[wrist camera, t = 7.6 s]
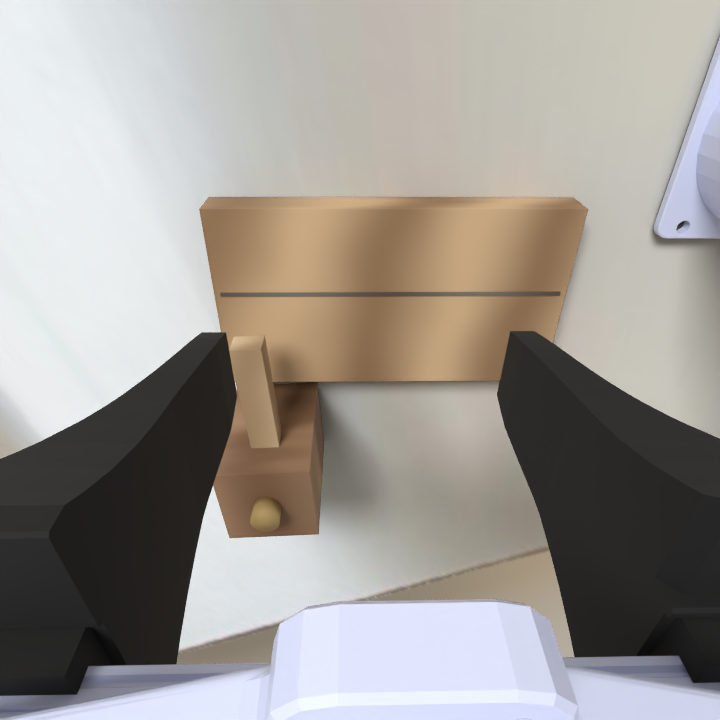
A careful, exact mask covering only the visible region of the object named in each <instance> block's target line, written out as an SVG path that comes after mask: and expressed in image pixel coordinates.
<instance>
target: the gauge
mask: <svg viewBox="0 0 720 720" xmlns="http://www.w3.org/2000/svg"><path fill="white" fill-rule="evenodd" d="M229 352H230V358H231V363H232V367H233V372H234V376H235V380H236V385H237V391H236V393H237V400H236V406H235V412H234V418H233V423H232V428H231V432H230V435H229V438H228V441H227V444H226V447H225V451H224V454H223V457H222V460H221V463H220V466H219V469H218V472H217V475H216V478H215V481H214V484H213V486H214V489H215V492H216V496H217V499H218V502H219V505H220V509H221V512H222V515H223V518H224V521H225V525H226V528H227V531H228V534H229V538H243V537H266V536H289V535H312V534H319V519H320V502H321V485H322V467H323V450H324V436H323V427H322V419H321V410H320V401H319V393H318V384H317V382H315V383H293V384H273V379H272V373H271V368H270V362H269V356H268V351H267V345H266V340H265V335H260V336H239V337H234V338H233V340H232V343H231V346H230V349H229Z"/></svg>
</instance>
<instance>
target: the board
mask: <svg viewBox="0 0 720 720" xmlns="http://www.w3.org/2000/svg"><path fill="white" fill-rule="evenodd" d="M199 210H200V215H201V221H202V227H203V232H204V238H205V244H206V249H207V255H208V261H209V266H210V272H211V278H212V283H213V289H214V294H215V300H216V306H217V311H218V317H219V323H220V328H221V332H226V335H227V340H228V346H229V349H230V346H231V343H232V340H233V338H234V337H239V336H260V335H265V340H266V345H267V351H268V356H269V362H270V368H271V373H272V379H273V382H341V381H496V380H500V378H501V373H502V368H503V363H504V359H505V354H506V349H507V344H508V339H509V335H510V331H535V332H537V333H538V334H540V335H542V336H543V337H545V338H546V339H548V340H549V341H550V342H552V343H553V339H554V335H555V332H556V328H557V324H558V320H559V317H560V313H561V309H562V305H563V302H564V298H565V294H566V291H567V287H568V283H569V279H570V276H571V272H572V268H573V264H574V261H575V257H576V253H577V250H578V246H579V242H580V238H581V235H582V231H583V227H584V223H585V220H586V216H587V212H588V209H587V208H586V207H585V206H583V205H582V204H581V203H580V202H578V201H577V200H576V199H575V198H547V197H209V198H208V199H207V200H206V201H205V203H204V204H203V205H202V206H201V208H200V209H199ZM231 364H232V363H231ZM232 370H233V367H232ZM233 375H234V372H233ZM234 381H235V382H236V380H235V376H234Z"/></svg>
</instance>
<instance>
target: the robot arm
mask: <svg viewBox="0 0 720 720" xmlns="http://www.w3.org/2000/svg"><path fill="white" fill-rule="evenodd" d="M682 221H685V222H684V225H683V227H681V228H680V229H678V230H676V229H677V226H678V224H679V223H681V222H682ZM654 231H655V233H656V234H657V235H659V236H660V237H661V238H666V239H720V38H719V41H718V44H717V47H716V49H715V52H714V55H713V58H712V61H711V64H710V67H709V69H708V72H707V75H706V78H705V81H704V84H703V87H702V89H701V92H700V95H699V98H698V101H697V104H696V107H695V109H694V112H693V115H692V118H691V121H690V124H689V127H688V129H687V132H686V135H685V138H684V141H683V144H682V147H681V149H680V152H679V155H678V158H677V161H676V164H675V167H674V169H673V172H672V175H671V178H670V181H669V184H668V187H667V189H666V192H665V195H664V198H663V201H662V204H661V207H660V209H659V212H658V215H657V218H656V221H655V224H654ZM497 396H498V401H499V405H500V409H501V414H502V418H503V421H504V425H505V428H506V431H507V434H508V436H509V439H510V441H511V444H512V446H513V449H514V451H515V454H516V456H517V458H518V461H519V463H520V466H521V468H522V471H523V473H524V475H525V478H526V480H527V483H528V485H529V487H530V490H531V492H532V495H533V497H534V500H535V503H536V505H537V508H538V511H539V514H540V517H541V521H542V524H543V528H544V531H545V535H546V538H547V542H548V545H549V549H550V553H551V557H552V561H553V564H554V568H555V572H556V576H557V580H558V584H559V587H560V592H561V597H562V600H563V605H564V610H565V614H566V618H567V623H568V627H569V631H570V636H571V641H572V646H573V651H574V656H575V657H574V658H573V657H572V658H571V657H570V658H562V655H561V652H560V649H559V646H558V644H557V641H556V637H555V634H554V632H553V629H552V626H551V623H550V620H549V619H548V618H546V617H544V616H543V615H542V614H540V613H538V612H537V611H535V610H534V609H533V608H531V607H529V606H527V605H526V604H524V603H518V602H511V601H504V600H497V599H465V600H401V601H399V600H397V601H339V602H333V603H327V604H320V605H314V606H308V607H306V608H305V609H303V610H301V611H300V612H298V613H296V614H295V615H293V616H291V617H289V618H288V619H286V620H285V621H284V622H282V623H281V624H280V625H279V628H278V631H277V634H276V637H275V640H274V644H273V653H272V662H271V663H232V664H231V663H229V664H179V665H178V664H176V662H177V655H178V649H179V642H180V636H181V630H182V624H183V618H184V612H185V606H186V600H187V594H188V589H189V584H190V579H191V573H192V568H193V563H194V558H195V553H196V548H197V543H198V538H199V534H200V529H201V524H202V520H203V516H204V512H205V509H206V505H207V502H208V499H209V496H210V493H211V490H212V487H213V484H214V481H215V478H216V475H217V472H218V469H219V466H220V463H221V460H222V457H223V454H224V451H225V447H226V444H227V441H228V438H229V435H230V432H231V428H232V423H233V418H234V412H235V406H236V400H237V393H236V387H235V381H234V375H233V370H232V364H231V358H230V352H229V346H228V340H227V335H226V332H220V333H201V334H199V335H198V336H197V337H195V338H194V339H193V340H192V341H190V342H189V343H188V344H187V345H186V346H184V347H183V348H182V349H181V350H180V351H179V352H177V353H176V354H175V355H174V356H173V357H171V358H170V359H169V360H168V361H166V362H165V363H164V364H163V365H162V366H160V367H159V368H158V369H157V370H155V371H154V372H153V373H152V374H150V375H149V376H148V377H146V378H145V379H144V380H142V381H141V382H139V383H138V384H137V385H135V386H134V387H133V388H131V389H130V390H129V391H127V392H126V393H125V394H123V395H122V396H120V397H119V398H117V399H116V400H114V401H113V402H111V403H110V404H108V405H107V406H105V407H103V408H102V409H100V410H98V411H97V412H95V413H93V414H92V415H90V416H88V417H87V418H85V419H83V420H81V421H80V422H78V423H76V424H74V425H72V426H70V427H68V428H66V429H64V430H62V431H60V432H58V433H56V434H54V435H52V436H50V437H49V438H47V439H45V440H43V441H41V442H39V443H36V444H34V445H32V446H30V447H27V448H25V449H23V450H21V451H18V452H16V453H14V454H11V455H9V456H7V457H4V458H2V459H0V720H720V439H719V438H717V437H714V436H712V435H710V434H708V433H705V432H703V431H701V430H698V429H696V428H694V427H691V426H689V425H687V424H685V423H682V422H680V421H678V420H676V419H674V418H672V417H670V416H668V415H666V414H664V413H662V412H660V411H658V410H656V409H654V408H652V407H651V406H649V405H647V404H645V403H643V402H641V401H639V400H638V399H636V398H634V397H632V396H631V395H629V394H627V393H626V392H624V391H622V390H621V389H619V388H618V387H616V386H614V385H613V384H611V383H609V382H608V381H606V380H605V379H603V378H602V377H600V376H599V375H597V374H596V373H594V372H593V371H591V370H590V369H588V368H587V367H586V366H584V365H583V364H581V363H580V362H578V361H577V360H576V359H574V358H573V357H571V356H570V355H569V354H567V353H566V352H564V351H563V350H562V349H560V348H559V347H557V346H556V345H555V344H553V343H552V342H550V341H549V340H548V339H546V338H545V337H543V336H542V335H540V334H538V333H537V332H535V331H510V335H509V339H508V344H507V349H506V354H505V359H504V363H503V368H502V373H501V378H500V383H499V388H498V392H497Z"/></svg>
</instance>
